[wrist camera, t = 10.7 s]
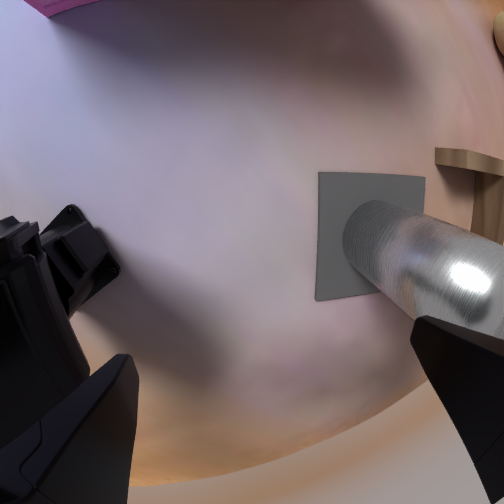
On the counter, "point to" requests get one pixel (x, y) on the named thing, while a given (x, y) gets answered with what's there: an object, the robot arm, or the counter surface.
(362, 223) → the steel tin
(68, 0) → the gum box
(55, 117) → the counter surface
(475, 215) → the walnut rack
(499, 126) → the counter surface
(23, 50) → the counter surface
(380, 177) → the rubber mat
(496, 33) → the apple
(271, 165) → the counter surface
